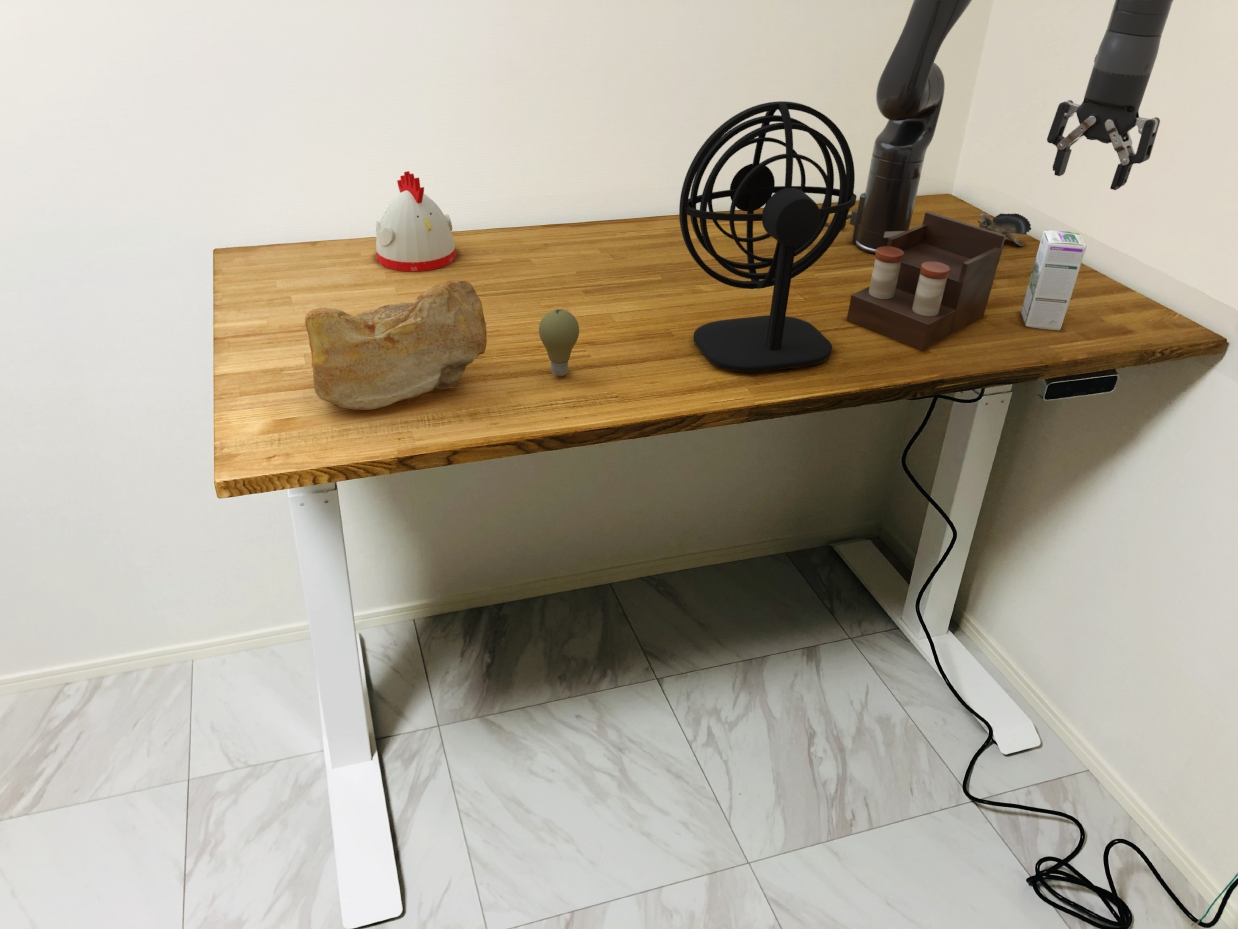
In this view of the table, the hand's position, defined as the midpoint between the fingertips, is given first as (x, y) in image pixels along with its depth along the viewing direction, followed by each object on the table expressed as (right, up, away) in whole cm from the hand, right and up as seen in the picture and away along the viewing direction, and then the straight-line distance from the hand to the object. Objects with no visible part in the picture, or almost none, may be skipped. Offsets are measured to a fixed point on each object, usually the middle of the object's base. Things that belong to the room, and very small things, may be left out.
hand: (1086, 181), depth 140 cm
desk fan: (-49, -25, +3) cm, 55 cm away
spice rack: (-22, -19, +12) cm, 31 cm away
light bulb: (-79, -30, -7) cm, 85 cm away
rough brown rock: (-101, -31, -10) cm, 106 cm away
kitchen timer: (-107, -5, +27) cm, 110 cm away
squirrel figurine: (+4, 0, +42) cm, 42 cm away
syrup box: (-1, -19, +13) cm, 23 cm away
